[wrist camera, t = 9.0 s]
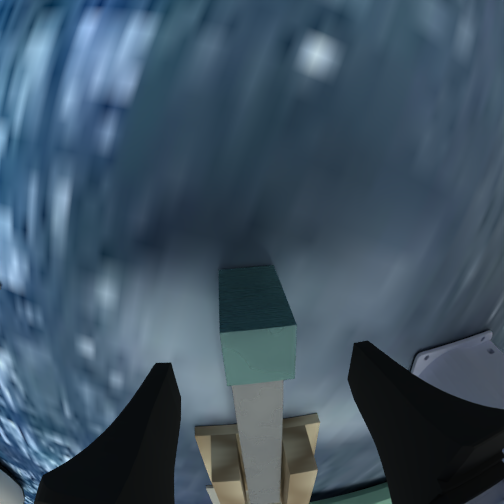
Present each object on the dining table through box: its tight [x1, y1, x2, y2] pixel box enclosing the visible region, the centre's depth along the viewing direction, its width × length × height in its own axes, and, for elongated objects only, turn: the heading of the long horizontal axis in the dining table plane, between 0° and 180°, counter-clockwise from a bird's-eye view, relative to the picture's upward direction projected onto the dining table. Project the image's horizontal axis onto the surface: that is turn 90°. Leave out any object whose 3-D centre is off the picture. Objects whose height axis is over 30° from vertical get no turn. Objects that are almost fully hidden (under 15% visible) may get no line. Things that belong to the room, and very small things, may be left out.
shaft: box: [219, 265, 297, 504], centre depth 19 cm, size 3×24×6 cm, turn 3°
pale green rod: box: [309, 482, 392, 504], centre depth 30 cm, size 6×6×25 cm
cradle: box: [195, 414, 320, 504], centre depth 22 cm, size 10×12×6 cm
